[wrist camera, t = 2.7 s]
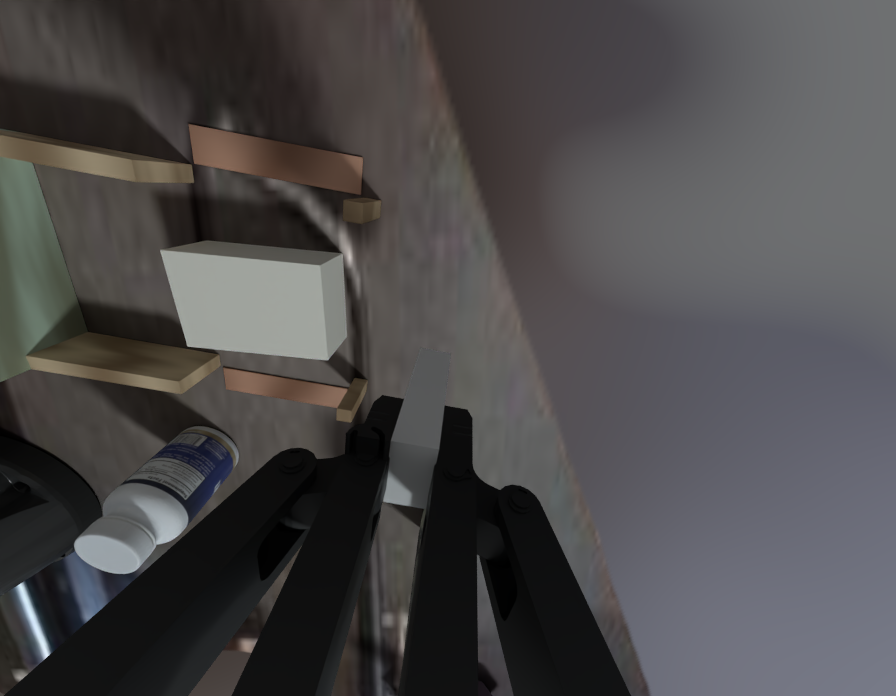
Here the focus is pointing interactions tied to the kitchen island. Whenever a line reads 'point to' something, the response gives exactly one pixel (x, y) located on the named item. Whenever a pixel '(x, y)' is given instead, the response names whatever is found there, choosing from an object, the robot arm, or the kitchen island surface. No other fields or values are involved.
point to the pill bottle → (158, 500)
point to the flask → (483, 690)
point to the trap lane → (51, 290)
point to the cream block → (258, 298)
